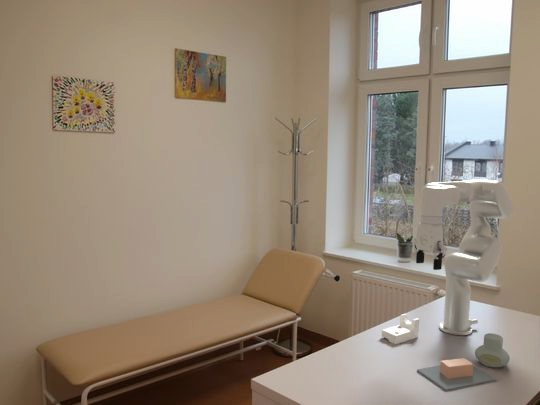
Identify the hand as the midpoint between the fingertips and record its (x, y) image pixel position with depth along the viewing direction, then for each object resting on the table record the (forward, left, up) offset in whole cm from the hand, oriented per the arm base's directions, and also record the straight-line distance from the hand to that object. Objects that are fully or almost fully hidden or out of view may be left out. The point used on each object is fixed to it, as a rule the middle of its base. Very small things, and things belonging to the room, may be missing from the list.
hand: (428, 266), depth 183 cm
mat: (+6, +24, -30) cm, 39 cm away
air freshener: (-12, +21, -31) cm, 39 cm away
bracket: (+4, -9, -31) cm, 32 cm away
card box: (+6, +24, -30) cm, 39 cm away
